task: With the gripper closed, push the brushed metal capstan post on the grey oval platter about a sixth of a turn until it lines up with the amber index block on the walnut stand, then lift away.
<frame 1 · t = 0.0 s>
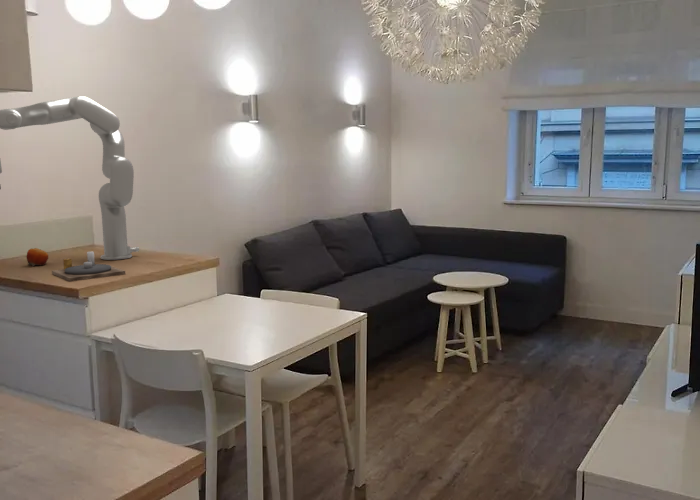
fruit: (38, 265, 274), on the worktop
stand: (88, 274, 252), on the worktop
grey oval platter: (87, 262, 252), point 4 cm above the worktop, hinge at 0.0°
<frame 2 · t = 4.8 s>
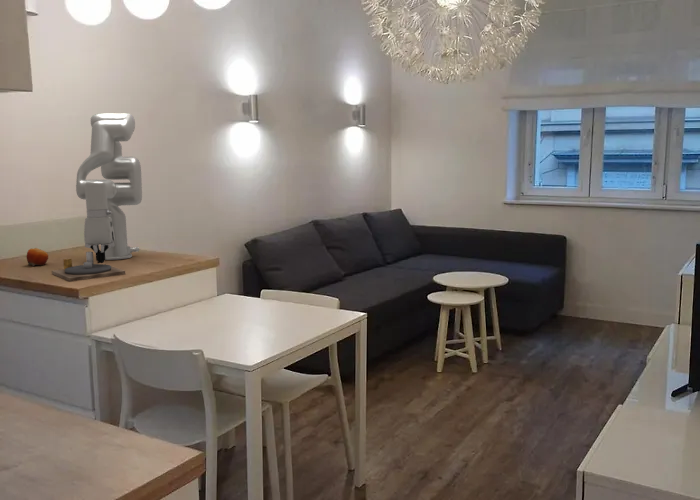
hand: (101, 262, 258), 3 cm above the worktop, tool pointing down, fingers closed
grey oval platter: (87, 262, 252), point 4 cm above the worktop, hinge at 3.6°, touching gripper
everything else where it was.
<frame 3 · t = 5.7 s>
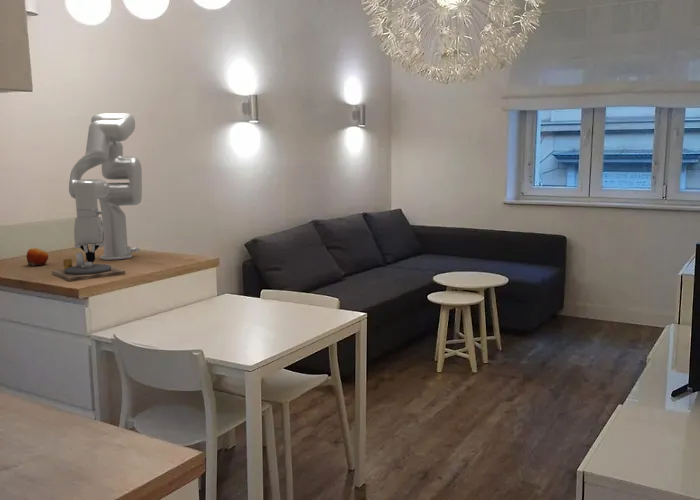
hand: (90, 262, 258), 3 cm above the worktop, tool pointing down, fingers closed
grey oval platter: (87, 262, 252), point 4 cm above the worktop, hinge at 37.6°, touching gripper
everything else where it was.
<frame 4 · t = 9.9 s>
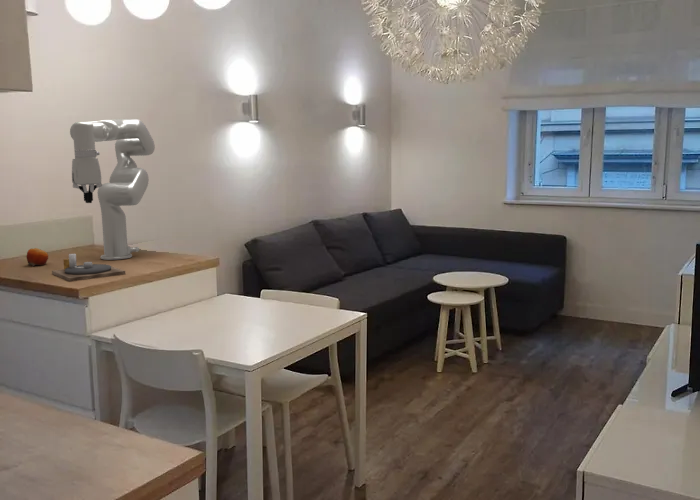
hand: (88, 202, 264), 25 cm above the worktop, tool pointing down, fingers closed
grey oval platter: (87, 262, 252), point 4 cm above the worktop, hinge at 70.3°
everything else where it was.
at the end: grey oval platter at +70° (first picture: +0°) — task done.
